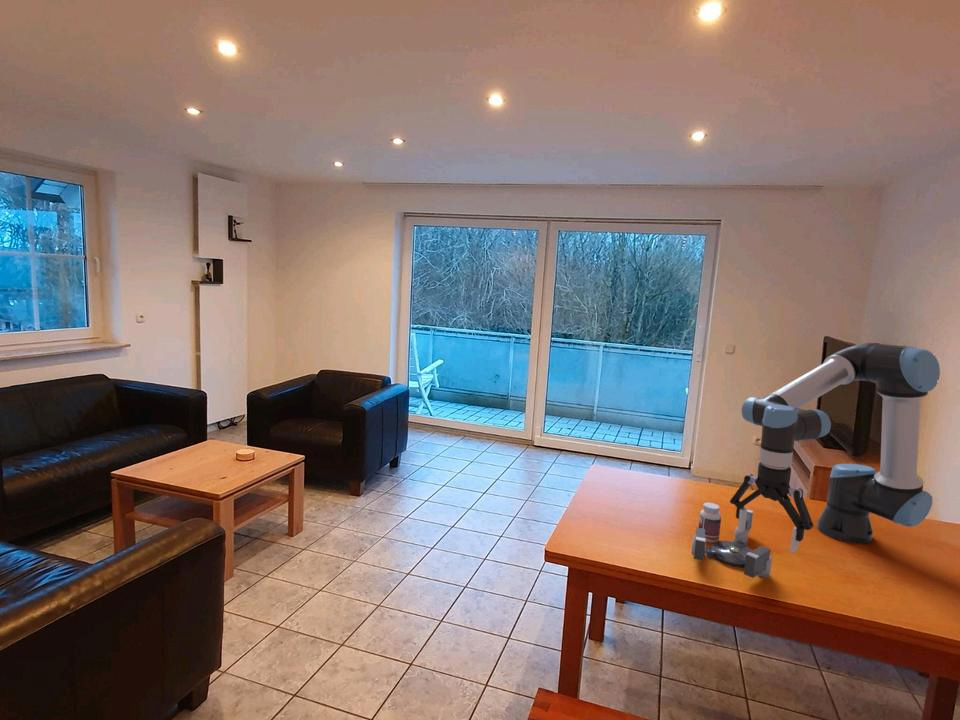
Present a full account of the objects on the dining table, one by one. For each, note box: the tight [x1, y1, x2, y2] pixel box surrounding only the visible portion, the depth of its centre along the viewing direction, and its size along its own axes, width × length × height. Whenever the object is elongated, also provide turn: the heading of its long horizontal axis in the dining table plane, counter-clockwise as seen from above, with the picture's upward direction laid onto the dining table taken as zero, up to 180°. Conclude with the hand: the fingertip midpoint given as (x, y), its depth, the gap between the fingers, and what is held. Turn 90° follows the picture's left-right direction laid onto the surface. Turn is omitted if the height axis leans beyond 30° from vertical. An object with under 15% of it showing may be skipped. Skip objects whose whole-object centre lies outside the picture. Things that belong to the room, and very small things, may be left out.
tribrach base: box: [705, 540, 754, 569], centre depth 158 cm, size 14×15×3 cm
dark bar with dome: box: [691, 527, 707, 561], centre depth 155 cm, size 11×4×8 cm, turn 158°
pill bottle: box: [698, 502, 722, 544], centre depth 168 cm, size 6×6×11 cm
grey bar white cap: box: [743, 545, 773, 579], centre depth 146 cm, size 11×4×8 cm, turn 129°
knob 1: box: [733, 509, 754, 547], centre depth 168 cm, size 11×4×8 cm, turn 143°
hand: (766, 540), depth 143 cm, fingers open, 13 cm apart
